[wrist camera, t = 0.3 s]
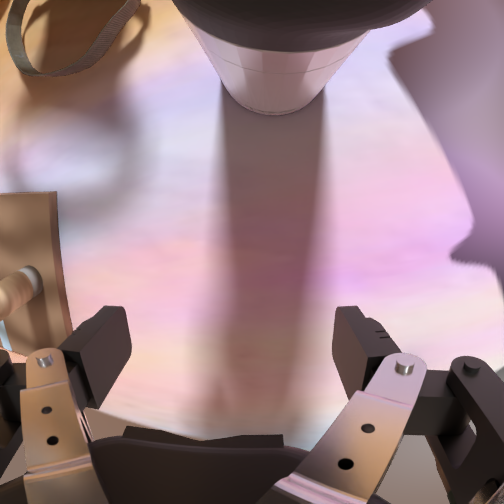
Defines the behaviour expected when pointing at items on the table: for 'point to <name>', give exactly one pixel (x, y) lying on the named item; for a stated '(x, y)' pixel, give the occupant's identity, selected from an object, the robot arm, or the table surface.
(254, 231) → the table surface
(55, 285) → the board
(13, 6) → the knee pad
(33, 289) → the tan round-topped cylinder
